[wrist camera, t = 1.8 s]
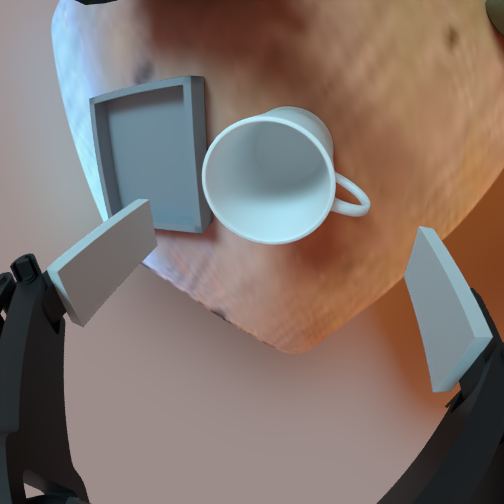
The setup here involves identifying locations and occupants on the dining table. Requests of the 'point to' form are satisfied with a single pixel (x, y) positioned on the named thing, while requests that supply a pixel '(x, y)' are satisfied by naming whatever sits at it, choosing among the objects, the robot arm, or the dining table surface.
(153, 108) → the slate tray
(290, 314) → the dining table surface
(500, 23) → the squeeze bottle
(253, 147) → the mug
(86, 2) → the decorative plant
